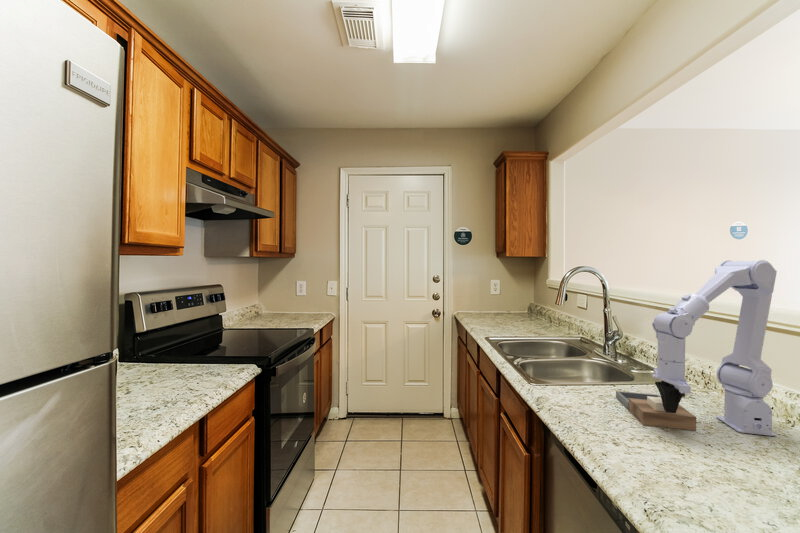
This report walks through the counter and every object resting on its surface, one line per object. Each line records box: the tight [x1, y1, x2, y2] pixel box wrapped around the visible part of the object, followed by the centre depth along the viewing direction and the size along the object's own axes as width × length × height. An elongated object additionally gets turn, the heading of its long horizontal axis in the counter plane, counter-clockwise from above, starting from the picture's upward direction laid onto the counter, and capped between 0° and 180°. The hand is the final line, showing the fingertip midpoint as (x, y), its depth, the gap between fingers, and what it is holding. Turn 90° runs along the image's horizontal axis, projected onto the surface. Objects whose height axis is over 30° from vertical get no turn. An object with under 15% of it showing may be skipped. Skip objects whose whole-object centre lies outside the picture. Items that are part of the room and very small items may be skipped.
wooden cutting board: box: [628, 398, 697, 431], centre depth 97 cm, size 10×12×4 cm
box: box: [615, 390, 661, 410], centre depth 108 cm, size 10×12×2 cm
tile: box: [647, 396, 677, 412], centre depth 97 cm, size 5×5×2 cm
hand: (670, 411), depth 92 cm, fingers closed
